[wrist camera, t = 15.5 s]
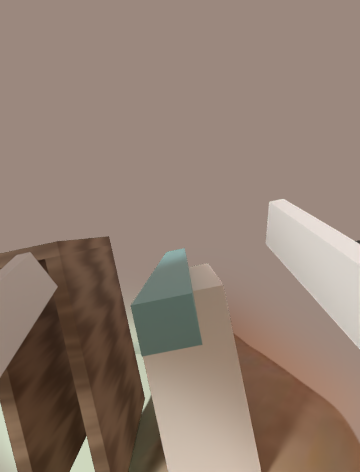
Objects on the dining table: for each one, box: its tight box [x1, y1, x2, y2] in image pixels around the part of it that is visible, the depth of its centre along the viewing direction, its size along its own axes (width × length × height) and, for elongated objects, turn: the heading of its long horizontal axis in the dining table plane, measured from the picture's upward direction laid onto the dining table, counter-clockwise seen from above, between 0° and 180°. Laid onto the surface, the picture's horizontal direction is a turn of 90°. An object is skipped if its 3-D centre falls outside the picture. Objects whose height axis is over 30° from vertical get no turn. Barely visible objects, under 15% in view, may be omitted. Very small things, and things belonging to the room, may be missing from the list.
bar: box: [131, 249, 203, 357], centre depth 22 cm, size 24×4×3 cm, turn 0°
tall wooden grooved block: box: [0, 237, 145, 472], centre depth 26 cm, size 13×10×30 cm
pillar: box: [131, 263, 261, 472], centre depth 25 cm, size 12×10×22 cm
